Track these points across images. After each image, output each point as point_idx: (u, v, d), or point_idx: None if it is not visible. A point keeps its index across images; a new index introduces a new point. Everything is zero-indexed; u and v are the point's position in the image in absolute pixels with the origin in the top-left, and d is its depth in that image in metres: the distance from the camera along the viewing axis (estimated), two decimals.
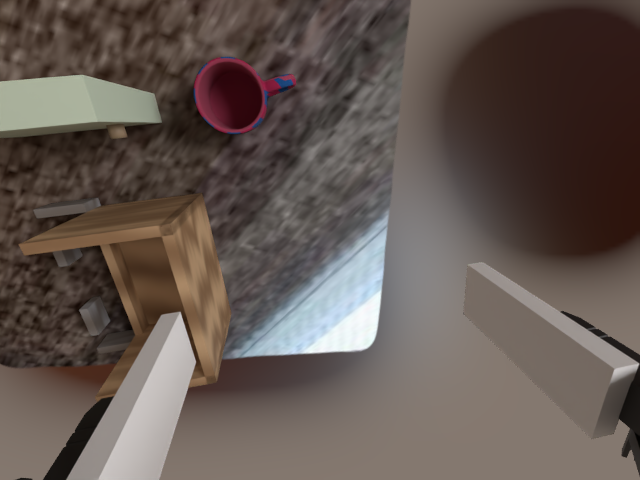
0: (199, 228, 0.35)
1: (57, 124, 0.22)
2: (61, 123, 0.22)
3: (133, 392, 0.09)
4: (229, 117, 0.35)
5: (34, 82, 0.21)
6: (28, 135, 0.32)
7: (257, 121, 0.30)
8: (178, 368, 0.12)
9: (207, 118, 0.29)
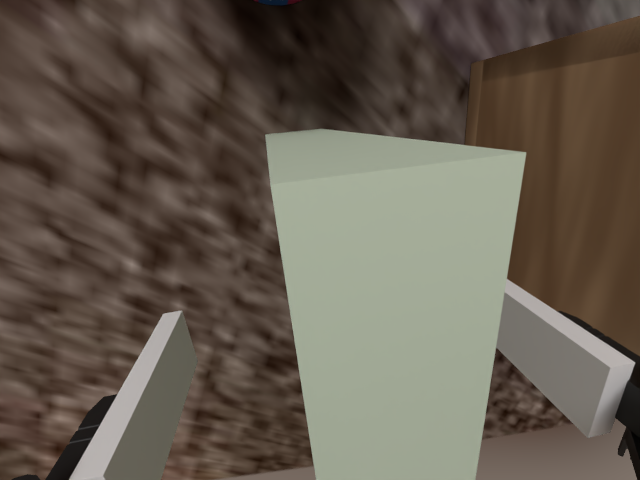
0: None
1: (492, 338, 0.05)
2: (494, 323, 0.04)
3: (136, 390, 0.09)
4: None
5: (318, 396, 0.04)
6: None
7: None
8: (180, 367, 0.12)
9: None
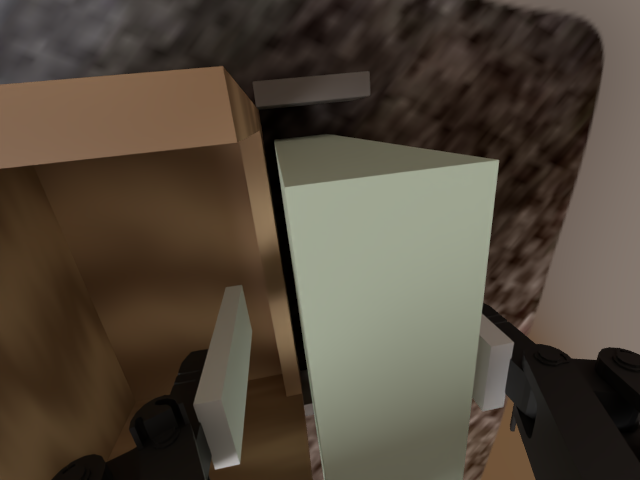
0: None
1: (476, 321, 0.05)
2: (477, 308, 0.05)
3: (224, 343, 0.11)
4: None
5: (323, 370, 0.05)
6: None
7: None
8: (245, 332, 0.13)
9: None
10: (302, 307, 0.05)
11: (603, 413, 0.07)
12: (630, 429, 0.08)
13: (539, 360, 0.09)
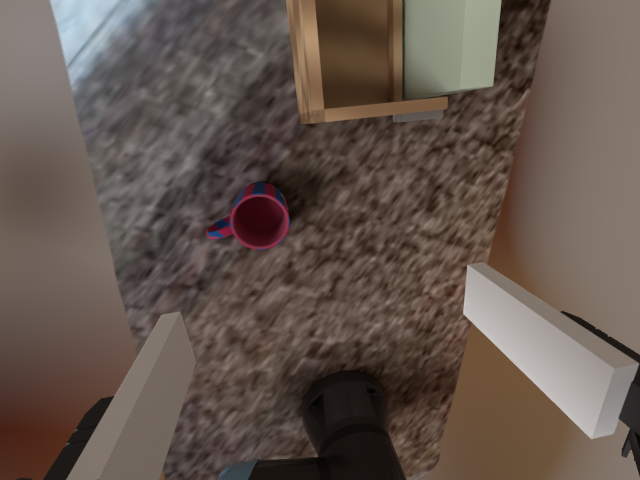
0: (300, 92, 0.32)
1: None
2: None
3: (133, 392, 0.09)
4: None
5: None
6: None
7: (237, 204, 0.33)
8: (178, 368, 0.12)
9: (280, 205, 0.34)
10: None
11: None
12: None
13: None
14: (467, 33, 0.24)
